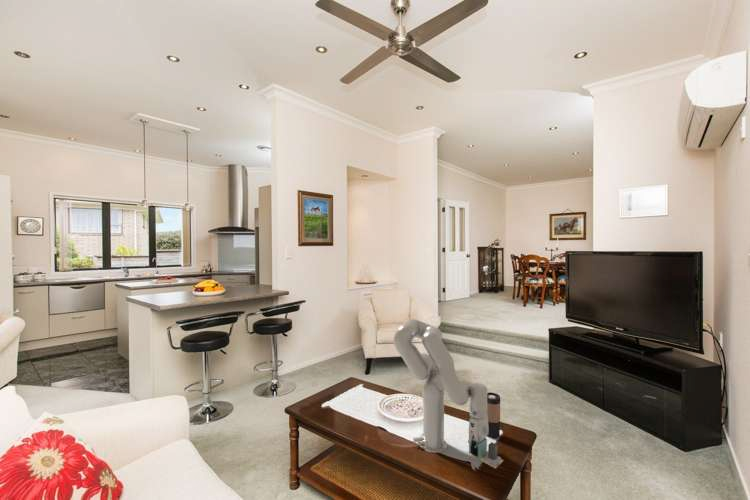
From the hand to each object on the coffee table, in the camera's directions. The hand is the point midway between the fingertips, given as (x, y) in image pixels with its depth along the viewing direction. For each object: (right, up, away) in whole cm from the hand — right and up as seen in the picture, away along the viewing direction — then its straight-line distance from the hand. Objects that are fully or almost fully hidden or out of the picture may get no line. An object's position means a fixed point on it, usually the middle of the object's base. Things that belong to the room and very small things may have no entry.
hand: (477, 451), depth 152 cm
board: (+2, -2, -3) cm, 4 cm away
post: (+5, -1, -5) cm, 7 cm away
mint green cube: (0, -1, 0) cm, 1 cm away
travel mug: (+11, -1, +15) cm, 18 cm away
